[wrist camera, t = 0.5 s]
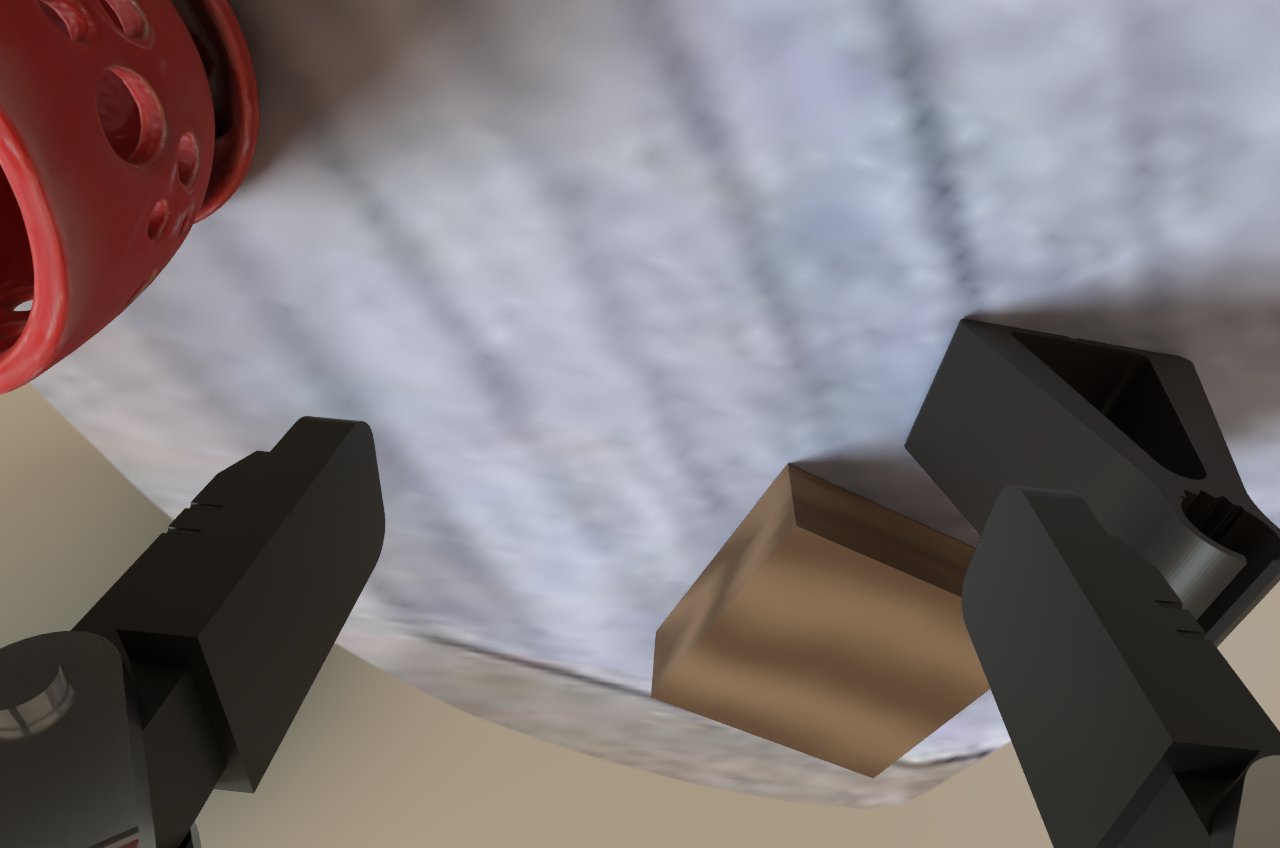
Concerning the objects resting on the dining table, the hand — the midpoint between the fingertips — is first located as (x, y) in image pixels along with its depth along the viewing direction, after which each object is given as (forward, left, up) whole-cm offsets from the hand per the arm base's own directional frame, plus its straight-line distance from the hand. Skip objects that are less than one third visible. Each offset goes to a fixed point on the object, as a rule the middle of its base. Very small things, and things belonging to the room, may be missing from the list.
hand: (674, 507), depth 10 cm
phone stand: (+3, +17, -19) cm, 26 cm away
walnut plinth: (+17, +17, -19) cm, 30 cm away
